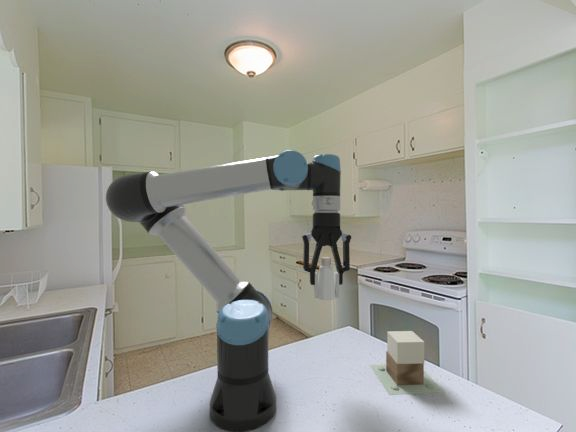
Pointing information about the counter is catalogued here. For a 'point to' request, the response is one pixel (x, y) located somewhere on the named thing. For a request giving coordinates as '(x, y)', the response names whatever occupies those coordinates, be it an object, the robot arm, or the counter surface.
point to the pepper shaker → (326, 280)
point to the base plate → (393, 389)
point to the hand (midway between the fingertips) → (326, 296)
